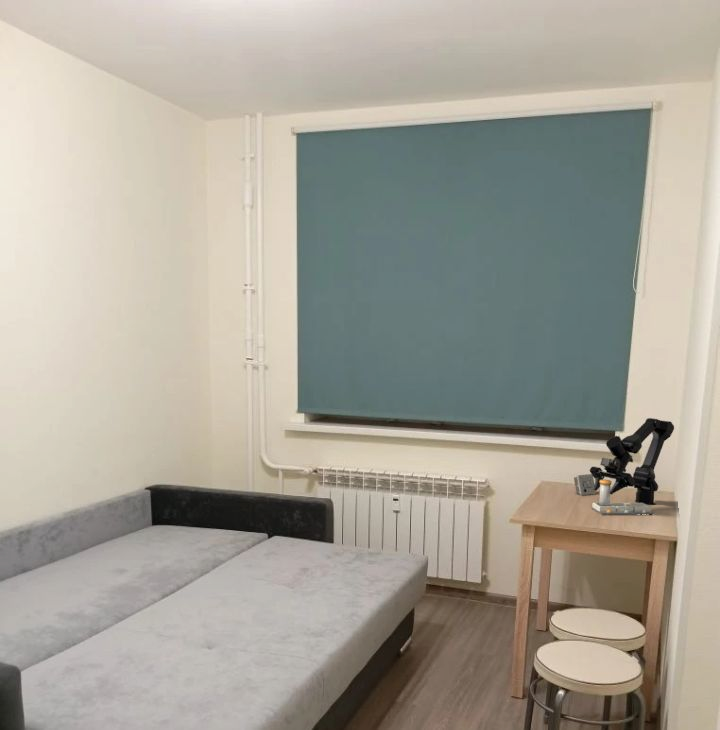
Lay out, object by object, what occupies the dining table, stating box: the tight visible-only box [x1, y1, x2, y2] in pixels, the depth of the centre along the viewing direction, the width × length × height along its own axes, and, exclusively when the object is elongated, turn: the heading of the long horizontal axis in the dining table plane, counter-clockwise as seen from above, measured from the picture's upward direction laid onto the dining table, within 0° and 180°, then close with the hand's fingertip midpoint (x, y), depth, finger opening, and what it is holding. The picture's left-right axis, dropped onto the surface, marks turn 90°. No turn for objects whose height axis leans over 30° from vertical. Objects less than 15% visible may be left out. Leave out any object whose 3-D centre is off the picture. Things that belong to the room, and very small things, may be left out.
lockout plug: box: [598, 479, 612, 506], centre depth 276 cm, size 5×5×12 cm
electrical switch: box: [573, 473, 597, 496], centre depth 309 cm, size 9×5×9 cm, turn 116°
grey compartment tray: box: [591, 502, 655, 516], centre depth 276 cm, size 22×10×3 cm, turn 95°
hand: (602, 491), depth 275 cm, fingers open, 7 cm apart
